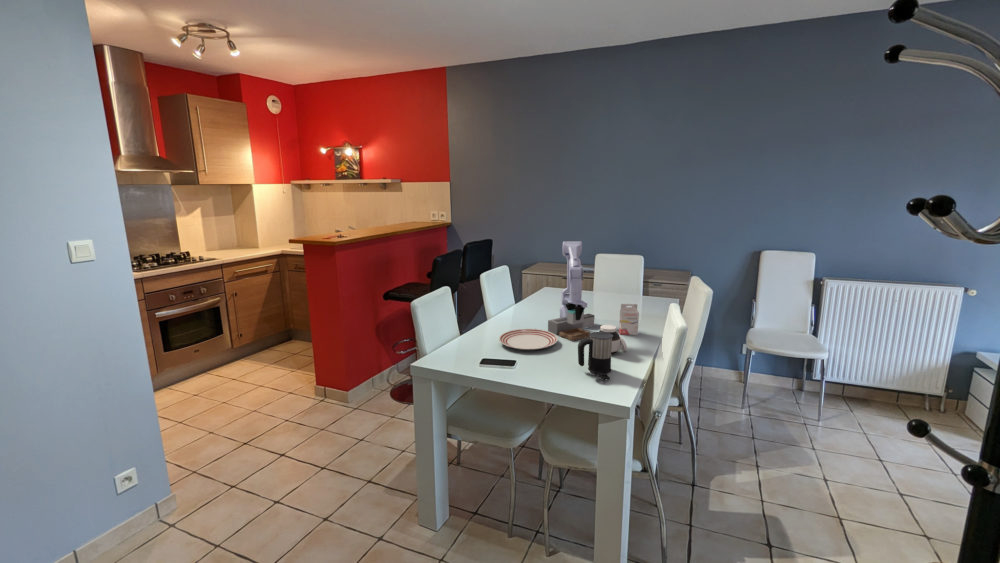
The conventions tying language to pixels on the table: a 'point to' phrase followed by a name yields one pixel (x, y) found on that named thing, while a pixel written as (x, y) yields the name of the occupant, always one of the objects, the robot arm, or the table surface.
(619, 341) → the spread jar
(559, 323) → the grey long block
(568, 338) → the walnut tray
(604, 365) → the milk frother
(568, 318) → the teal cartridge
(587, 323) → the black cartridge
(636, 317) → the ink cartridge box
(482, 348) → the table surface
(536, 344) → the dinner plate
